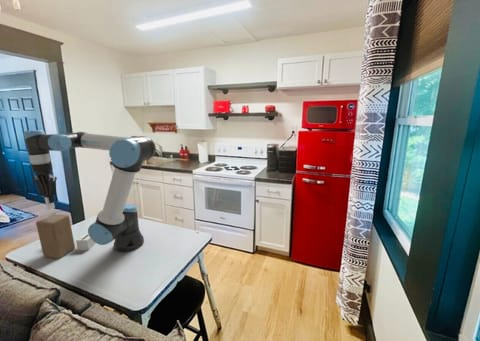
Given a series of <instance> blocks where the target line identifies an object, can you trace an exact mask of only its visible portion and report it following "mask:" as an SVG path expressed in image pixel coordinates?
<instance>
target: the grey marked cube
mask: <svg viewBox="0 0 480 341" xmlns="http://www.w3.org/2000/svg"><path fill="white" fill-rule="evenodd" d="M75 242H76V243H75V244H76V248H77V251H90V250H91V249H92V248H93V247H94V246H95V245H96V244H97V243H95V242H94V241H93V240H92V239H91V238H90V236H89V234H82V235H81V236H80V237H78V238H77V239H76V240H75Z"/></svg>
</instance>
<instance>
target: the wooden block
mask: <svg viewBox="0 0 480 341" xmlns="http://www.w3.org/2000/svg"><path fill="white" fill-rule="evenodd" d="M35 225H36V229H37V232H38V237H39V243H40V246H41V250H42V251H41V252H42V255H43V257H45V258H50V259H51V258H52V259H57V260H58V259H61V258H62V257H64V256H65V255H67V254H68V253H71V252H72V251H74V250H75V249H76V246H75V244H76V243H75V240H74V235H73V230H72V224H71V220H70V216H69V215H67V214H57V213H54V214H50V215H48V216H46V217H44V218H42V219H39V220H37V221H36V222H35Z"/></svg>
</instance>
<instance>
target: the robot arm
mask: <svg viewBox="0 0 480 341" xmlns="http://www.w3.org/2000/svg"><path fill="white" fill-rule="evenodd" d="M23 136H24V142H25V146H26V150H27V154H28V159H29V163H30V166H31V171H32V172H33V173H34V174H35V175H34V176H32V177H31V179H32V180H33V181H34V184H35V187H36V189H37V192H38V195H39V196H42V197H43V199H44V201H45V205H46V209H47V211H51V210H53V209H55V208H56V206H55V200H54V196H57V179H58V178H57V176H54V175H53V174H52V172H51V171H52V170H53V165H52V162H51V156H50V151H55V152H63V151H68V150H70V149H76V148H84V149H94V150H100V151H101V150H102V151H109V153H108V155H109V157H110V161H111V166H112V167H113V168H114V169H113V173H112V175H111V180H110V183H109V187H108V191H107V195H106V198H105V200H104V204H103V208H102V210H100V211H99V212H98V213H97V215H96V220H95V222H93V223H91V224H90V225H89V226H88V229H87V233H88V234H87V235H89V236H90V238H91V239H92V240H93V241H94V242H95V243H96V244H97V245H99V246H105V245H108V244H110V243H112V242H113V248H114V250H115V251H116V252H120V253H123V252H124V253H125V252H130V251H134V250H136V249H139V248H140V247H142V246H143V244H144V243H145V240H144V238H145V237H144V235H142V232H141V230H140V226H139V217H138V210H137V206H136V205H135V204H131V203H129V204H128V203H127V201H128V197H129V195H130V192H131V188H132V185H133V181H134V179H135V175H136V174H137V173H139V172H140V171H141V169H142V165H143V163H144V162H146V161H148V160H151V159H152V158H153V157H154V155H155V154H156V149H157V148H156V147H157V146H156V143H155V142H154V140H153V139H152V138H150V137H148V136H146V135H140V136H139V135H131V136H129V137H127V136H116V135H107V134H106V135H105V134H98V133H97V134H96V133H88V132H85V131H77V132H67V133H66V132H65V133H51V134H50V133H49V134H46V132H45V131H44V130H43V129H33V130H25V131H24V132H23Z"/></svg>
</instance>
